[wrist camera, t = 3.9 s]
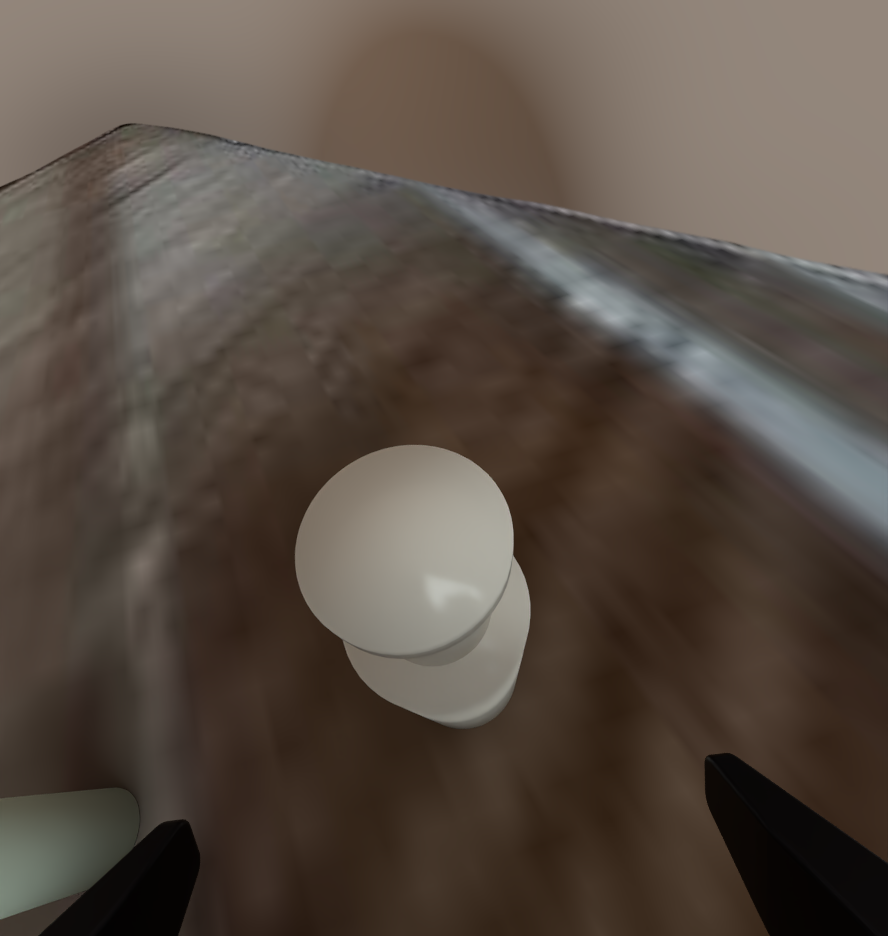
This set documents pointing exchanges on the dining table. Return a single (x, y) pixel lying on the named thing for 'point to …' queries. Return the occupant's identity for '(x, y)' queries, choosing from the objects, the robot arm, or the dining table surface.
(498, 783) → the dining table surface
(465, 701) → the vase
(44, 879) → the post
